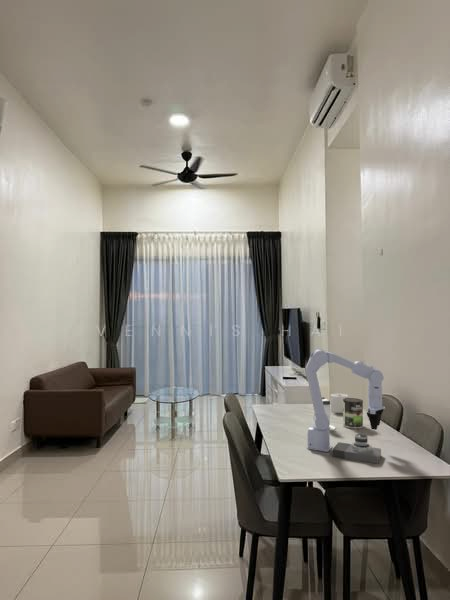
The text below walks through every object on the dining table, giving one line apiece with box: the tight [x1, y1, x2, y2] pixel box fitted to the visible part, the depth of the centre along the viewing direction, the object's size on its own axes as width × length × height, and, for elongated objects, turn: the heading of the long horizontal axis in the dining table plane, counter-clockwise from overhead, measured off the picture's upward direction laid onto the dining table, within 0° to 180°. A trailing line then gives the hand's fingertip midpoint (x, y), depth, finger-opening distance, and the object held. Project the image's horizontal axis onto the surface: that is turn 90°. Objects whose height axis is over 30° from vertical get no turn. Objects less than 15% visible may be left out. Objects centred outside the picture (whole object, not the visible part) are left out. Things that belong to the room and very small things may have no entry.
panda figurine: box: [321, 396, 336, 431], centre depth 224 cm, size 12×11×15 cm
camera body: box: [331, 441, 382, 465], centre depth 179 cm, size 18×11×5 cm, turn 62°
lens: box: [354, 433, 369, 447], centre depth 178 cm, size 5×5×6 cm
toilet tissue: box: [330, 393, 349, 414], centre depth 260 cm, size 11×12×10 cm
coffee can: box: [342, 397, 364, 430], centre depth 227 cm, size 10×10×14 cm
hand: (375, 427), depth 186 cm, fingers open, 7 cm apart
